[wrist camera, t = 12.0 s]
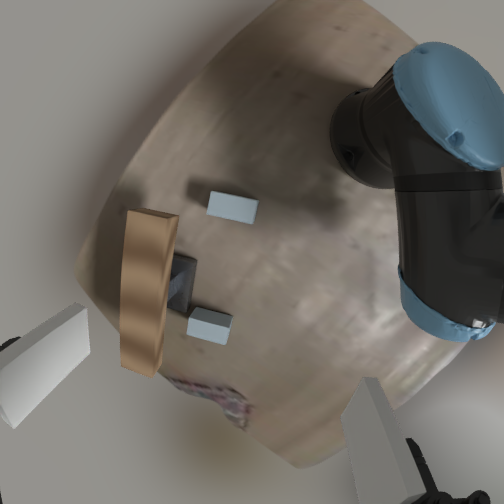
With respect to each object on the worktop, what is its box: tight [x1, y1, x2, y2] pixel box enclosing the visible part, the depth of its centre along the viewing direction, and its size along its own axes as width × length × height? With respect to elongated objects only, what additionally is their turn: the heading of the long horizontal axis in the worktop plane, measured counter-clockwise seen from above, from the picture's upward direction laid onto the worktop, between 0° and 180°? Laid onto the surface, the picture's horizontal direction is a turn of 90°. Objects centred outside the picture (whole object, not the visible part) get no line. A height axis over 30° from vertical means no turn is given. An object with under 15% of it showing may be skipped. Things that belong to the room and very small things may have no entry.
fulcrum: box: [167, 254, 197, 313], centre depth 37 cm, size 8×8×7 cm
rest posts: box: [187, 191, 259, 345], centre depth 38 cm, size 21×6×4 cm, turn 168°
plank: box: [120, 208, 179, 378], centre depth 32 cm, size 22×5×4 cm, turn 167°
